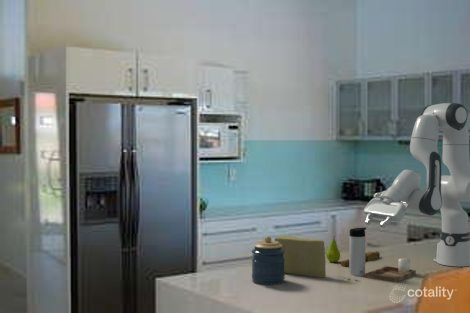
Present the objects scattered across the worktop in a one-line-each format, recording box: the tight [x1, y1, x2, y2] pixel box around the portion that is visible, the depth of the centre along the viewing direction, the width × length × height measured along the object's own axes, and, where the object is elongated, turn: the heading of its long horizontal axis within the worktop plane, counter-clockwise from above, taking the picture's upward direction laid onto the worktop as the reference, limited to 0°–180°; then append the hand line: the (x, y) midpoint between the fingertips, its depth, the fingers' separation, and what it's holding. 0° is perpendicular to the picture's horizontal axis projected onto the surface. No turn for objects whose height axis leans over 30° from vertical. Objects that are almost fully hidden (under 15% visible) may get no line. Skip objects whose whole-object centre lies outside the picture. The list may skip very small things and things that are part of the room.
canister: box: [251, 235, 286, 285], centre depth 238 cm, size 13×13×18 cm
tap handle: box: [340, 250, 381, 268], centre depth 275 cm, size 3×3×30 cm
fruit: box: [325, 235, 341, 263], centre depth 274 cm, size 6×6×12 cm
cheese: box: [274, 234, 327, 279], centre depth 250 cm, size 22×10×15 cm, turn 49°
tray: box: [364, 265, 417, 283], centre depth 242 cm, size 18×13×3 cm
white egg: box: [397, 257, 411, 275], centre depth 244 cm, size 4×4×6 cm
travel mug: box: [348, 227, 367, 277], centre depth 244 cm, size 6×7×20 cm
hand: (374, 225), depth 248 cm, fingers open, 8 cm apart
